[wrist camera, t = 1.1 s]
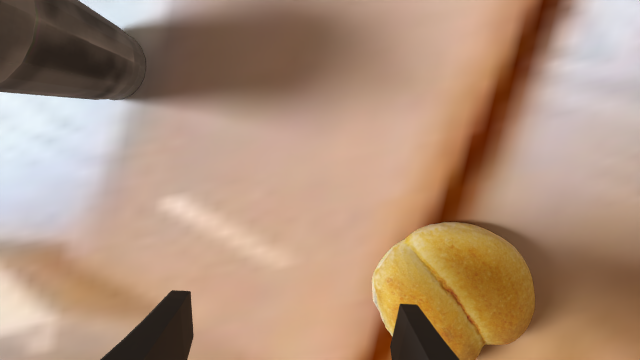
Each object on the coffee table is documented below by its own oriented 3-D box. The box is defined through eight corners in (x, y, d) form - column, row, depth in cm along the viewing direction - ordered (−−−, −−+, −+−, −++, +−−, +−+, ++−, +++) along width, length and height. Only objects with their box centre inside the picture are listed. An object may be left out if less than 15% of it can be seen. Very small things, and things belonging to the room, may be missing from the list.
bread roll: (548, 305, 23) (584, 336, 20) (419, 373, 25) (429, 415, 21) (475, 190, 24) (497, 198, 20) (350, 263, 25) (347, 284, 21)
